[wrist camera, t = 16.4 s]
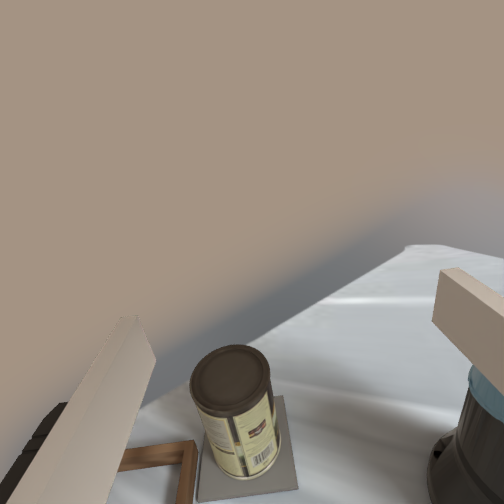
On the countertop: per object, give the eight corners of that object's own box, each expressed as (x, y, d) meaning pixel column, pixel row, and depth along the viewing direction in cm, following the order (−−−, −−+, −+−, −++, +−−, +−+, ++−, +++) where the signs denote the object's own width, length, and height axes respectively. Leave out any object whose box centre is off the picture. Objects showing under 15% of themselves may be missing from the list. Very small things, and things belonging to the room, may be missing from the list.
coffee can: (235, 399, 47) (219, 336, 41) (291, 423, 42) (282, 355, 36) (198, 459, 40) (171, 393, 34) (261, 497, 34) (243, 427, 29)
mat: (283, 397, 47) (282, 395, 47) (298, 489, 35) (298, 486, 35) (208, 408, 47) (207, 406, 47) (198, 502, 35) (197, 500, 35)
